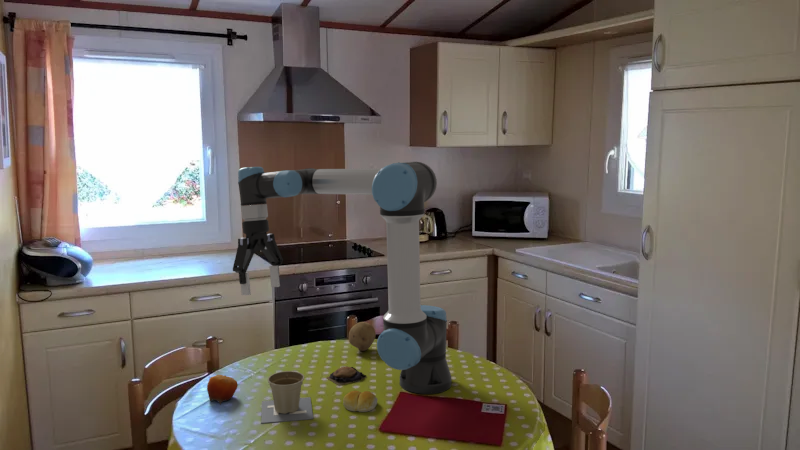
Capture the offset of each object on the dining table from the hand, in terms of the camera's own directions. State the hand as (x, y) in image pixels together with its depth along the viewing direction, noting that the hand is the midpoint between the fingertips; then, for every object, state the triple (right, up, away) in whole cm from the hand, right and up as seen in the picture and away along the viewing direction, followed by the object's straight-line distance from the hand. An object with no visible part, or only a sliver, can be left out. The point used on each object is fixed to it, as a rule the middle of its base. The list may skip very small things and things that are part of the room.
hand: (261, 290), depth 183 cm
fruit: (-7, -28, -14) cm, 33 cm away
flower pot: (+11, -29, -21) cm, 38 cm away
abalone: (+25, -27, +1) cm, 37 cm away
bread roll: (+31, -29, -18) cm, 46 cm away
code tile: (+11, -29, -21) cm, 38 cm away
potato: (+28, -23, +24) cm, 44 cm away
